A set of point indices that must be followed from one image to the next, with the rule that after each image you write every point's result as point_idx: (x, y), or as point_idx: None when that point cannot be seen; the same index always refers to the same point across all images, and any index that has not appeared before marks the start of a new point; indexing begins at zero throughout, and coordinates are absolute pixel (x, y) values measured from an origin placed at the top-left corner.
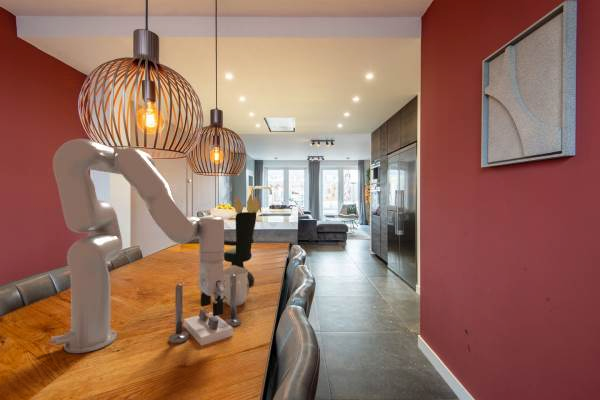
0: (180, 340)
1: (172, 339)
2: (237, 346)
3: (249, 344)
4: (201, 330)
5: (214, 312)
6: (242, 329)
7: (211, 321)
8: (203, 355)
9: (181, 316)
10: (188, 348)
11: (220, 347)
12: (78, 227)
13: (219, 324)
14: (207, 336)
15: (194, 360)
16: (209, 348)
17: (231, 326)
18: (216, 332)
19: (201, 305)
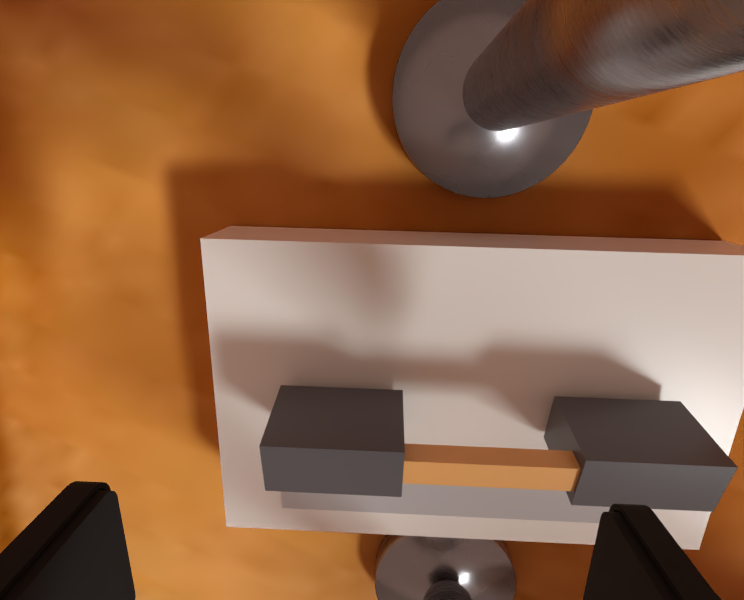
0: (394, 79)
1: (466, 6)
2: (74, 430)
3: None
4: (354, 299)
5: (34, 535)
6: (301, 565)
7: (321, 431)
8: (65, 178)
9: (524, 71)
10: (252, 115)
11: (123, 334)
12: None
13: None
14: (209, 298)
15: (20, 83)
16: (152, 262)
17: (390, 535)
18: (218, 389)
19: (625, 513)
